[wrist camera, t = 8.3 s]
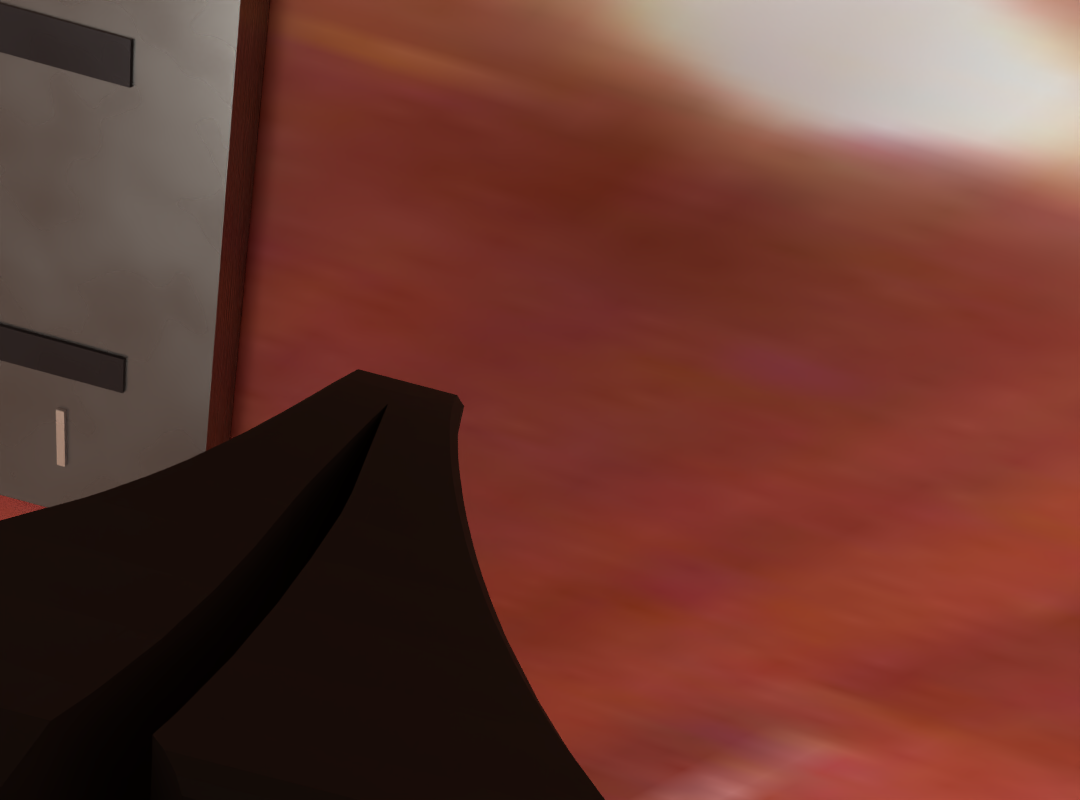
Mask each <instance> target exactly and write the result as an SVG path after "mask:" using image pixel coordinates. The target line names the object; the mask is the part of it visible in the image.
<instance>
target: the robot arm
mask: <svg viewBox="0 0 1080 800" xmlns="http://www.w3.org/2000/svg"><path fill="white" fill-rule="evenodd" d="M463 408H464V405H463V404H462V402H461V401H460V399H459V398H458V396H457V395H454V394H451V393H447V392H443V391H439V390H435V389H431V388H428V387H424V386H420V385H416V384H412V383H409V382H405V381H401V380H397V379H393V378H389V377H386V376H382V375H378V374H374V373H370V372H366V371H363V370H359V369H358V370H356V371H354V372H352V373H350V374H348V375H347V376H345V377H343V378H341V379H339V380H338V381H336V382H334V383H332V384H331V385H329V386H327V387H325V388H324V389H322V390H320V391H319V392H317V393H315V394H313V395H312V396H310V397H308V398H307V399H305V400H303V401H301V402H300V403H298V404H296V405H294V406H293V407H291V408H289V409H287V410H286V411H284V412H282V413H280V414H278V415H276V416H275V417H273V418H271V419H269V420H267V421H265V422H264V423H262V424H260V425H258V426H256V427H254V428H252V429H251V430H249V431H247V432H245V433H243V434H241V435H239V436H236V437H234V438H232V439H230V440H228V441H226V442H224V443H222V444H220V445H217V446H215V447H213V448H211V449H209V450H207V451H205V452H203V453H200V454H198V455H196V456H194V457H192V458H190V459H188V460H185V461H183V462H181V463H178V464H176V465H174V466H171V467H169V468H166V469H164V470H161V471H158V472H156V473H153V474H151V475H148V476H146V477H143V478H140V479H137V480H134V481H132V482H129V483H126V484H123V485H120V486H117V487H115V488H112V489H109V490H106V491H103V492H100V493H97V494H94V495H91V496H88V497H84V498H81V499H77V500H74V501H70V502H66V503H63V504H59V505H55V506H52V507H48V508H44V509H41V510H37V511H33V512H30V513H26V514H23V515H19V516H15V517H12V518H8V519H4V520H1V521H0V800H605V799H604V798H603V797H602V795H601V794H600V793H599V791H598V790H597V788H596V787H595V786H594V784H593V783H592V782H591V780H590V779H589V778H588V776H587V775H586V774H585V772H584V771H583V769H582V768H581V767H580V765H579V764H578V763H577V761H576V760H575V759H574V757H573V756H572V754H571V753H570V751H569V750H568V748H567V747H566V745H565V744H564V742H563V741H562V739H561V737H560V736H559V734H558V732H557V731H556V729H555V727H554V726H553V724H552V723H551V721H550V719H549V718H548V716H547V714H546V713H545V711H544V709H543V708H542V706H541V705H540V703H539V701H538V699H537V697H536V695H535V693H534V692H533V690H532V688H531V686H530V684H529V682H528V680H527V678H526V676H525V674H524V672H523V670H522V668H521V666H520V664H519V662H518V660H517V658H516V656H515V654H514V652H513V650H512V648H511V647H510V645H509V643H508V641H507V638H506V636H505V634H504V632H503V629H502V627H501V624H500V622H499V619H498V617H497V615H496V612H495V610H494V607H493V605H492V602H491V599H490V597H489V594H488V591H487V588H486V585H485V582H484V580H483V577H482V574H481V571H480V567H479V564H478V561H477V557H476V554H475V550H474V547H473V543H472V538H471V534H470V530H469V526H468V522H467V517H466V512H465V507H464V501H463V495H462V487H461V480H460V473H459V463H458V431H459V426H460V422H461V417H462V413H463Z"/></svg>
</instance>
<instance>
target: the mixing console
mask: <svg viewBox="0 0 1080 800" xmlns="http://www.w3.org/2000/svg"><path fill="white" fill-rule="evenodd" d="M269 5H270V0H0V495H3V496H7V497H11V498H14V499H18V500H22V501H26V502H29V503H33V504H37V505H41V506H44V507H52V506H55V505H59V504H63V503H66V502H70V501H74V500H77V499H81V498H84V497H88V496H91V495H94V494H97V493H100V492H103V491H106V490H109V489H112V488H115V487H117V486H120V485H123V484H126V483H129V482H132V481H134V480H137V479H140V478H143V477H146V476H148V475H151V474H153V473H156V472H158V471H161V470H164V469H166V468H169V467H171V466H174V465H176V464H178V463H181V462H183V461H185V460H188V459H190V458H192V457H194V456H196V455H198V454H200V453H203V452H205V451H207V450H209V449H211V448H213V447H215V446H217V445H220V444H222V443H224V442H226V441H228V440H230V432H231V421H232V410H233V399H234V388H235V377H236V366H237V355H238V345H239V334H240V323H241V312H242V301H243V290H244V279H245V268H246V257H247V246H248V235H249V224H250V213H251V202H252V191H253V180H254V169H255V158H256V147H257V136H258V125H259V114H260V103H261V92H262V81H263V71H264V60H265V49H266V38H267V27H268V16H269Z"/></svg>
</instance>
